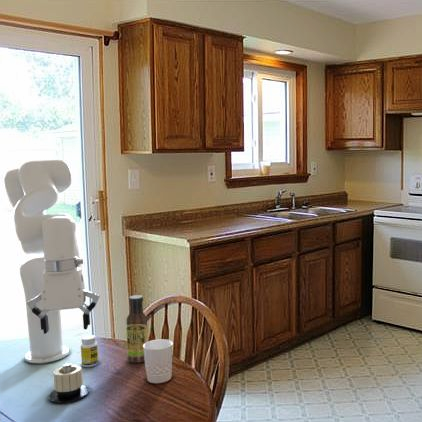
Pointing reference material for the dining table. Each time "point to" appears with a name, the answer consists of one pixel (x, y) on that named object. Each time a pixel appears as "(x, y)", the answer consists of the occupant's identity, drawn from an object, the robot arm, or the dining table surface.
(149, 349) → the white cup
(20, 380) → the dining table surface
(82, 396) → the tape stand
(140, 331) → the sauce bottle
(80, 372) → the tape roll
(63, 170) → the robot arm
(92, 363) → the supplement bottle
